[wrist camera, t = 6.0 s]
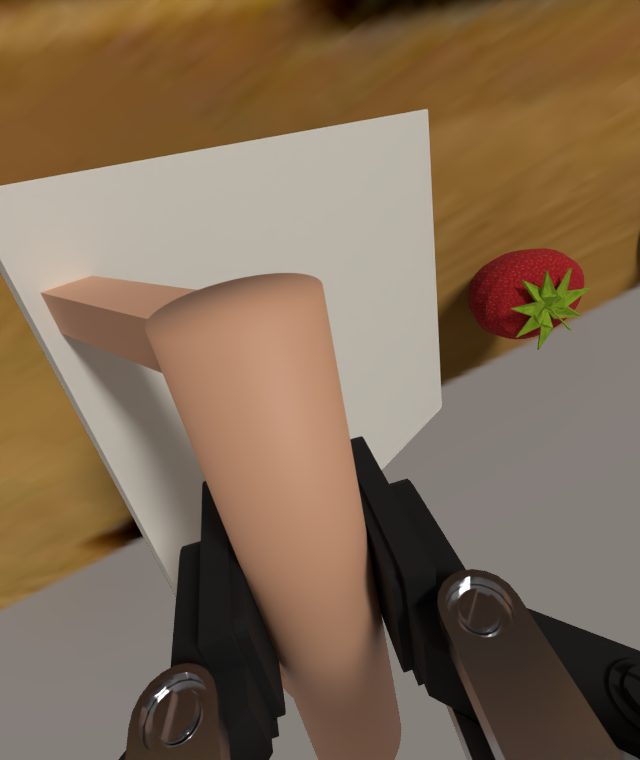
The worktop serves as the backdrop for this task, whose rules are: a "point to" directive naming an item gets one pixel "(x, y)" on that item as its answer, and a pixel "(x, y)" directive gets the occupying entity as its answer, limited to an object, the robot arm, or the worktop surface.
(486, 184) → the worktop surface
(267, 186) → the flap
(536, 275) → the strawberry
